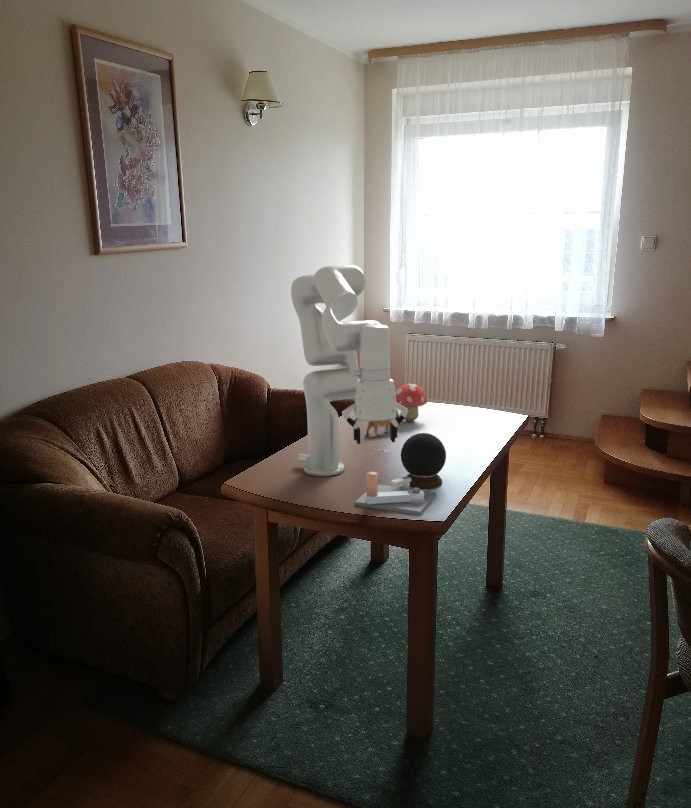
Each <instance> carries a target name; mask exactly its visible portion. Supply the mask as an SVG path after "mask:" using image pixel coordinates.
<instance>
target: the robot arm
mask: <svg viewBox="0 0 691 808" xmlns="http://www.w3.org/2000/svg"><path fill="white" fill-rule="evenodd" d="M366 284H367V283H366V277H365V273H364V271H363V270H362V269H361V268H360V267H359V266H357V265H352V264H349V265H327V266H322V267H321V268H319V269H317V271H315V273H314V274H308V275H302V276H299V277H297V278H295V279H294V280H293V281H292V283H291V288H290V295H291V296H290V297H291V302H292V306H293V308H294V311H295V313H296V315H297V318H298V321H299V326H300V333H301V340H302V348H303V356H304V358H305V359H304V360H305V361H306V363H307V365H309V366H313V367H321V366H324V367H325V366H333V365H338V366H339V368H331V369H321V370H314V371H311V372H309V373H306V375H305V376H304V378H303V382H302V388H303V393H304V397H305V405H306V418H307V419H306V420H307V446H308V448H307V449H308V450H307V452H308V453H307V454H305V453H299V454H298V455H297V457H298V460H297V461H298V463H304V464H305V465H304V466H303V471H304V472H305V474H307V475H309V476H314V477H331V476H332V477H333V476H336V475H338V474H341V473H343V472H344V470H345V465H344V464H343V463H342V462H340V437H339V436H340V429H339V423H340V422H339V414H338V412H337V410H336V409H335V408H334V406H333V405H332V404H331V402H335V401H342V400H350V399H354V403H352V404H350V406H348V407H346V408H345V409H344V410H342V411H341V414H342V416H343V417H344V419H345V420H346V422H347V423H348V424H349V426H351V427H352V428H353V440H354V441H356V443H357V445H360V444H361V428H360V425H361V424H362V423H363V422H369V421H383V420H390V421H391V422H392V423H391V425H390V426H389V439H390V441H391V443H396V439H397V438H398V427H399V425H400V424H401V423H402V422H403V421H404V418H405V416H406V415H407V413H408V411H409V410H408V409H407V408H406V407H404V406H402V405H401V404H399V403H397V402H396V394H395V392H396V387H395V381H394V379H392V378H391V329H390V327H389V326H388V325H385V324H382V323H380V322H379V321H377V320H373V319H371V320H370V319H367V320H350V321H343V320H344V319H346V318H348V317H349V316H351V315H352V314H353V313H354V312H355V311H356V309H357V308H358V304H359V302H358V301H359V300H358V297H359V296H360V295H362V293H364V291H365V288H366ZM317 304H324V305H325V308H324V309H323V310H324V311H323V310H322V309H321V308H320V307H319V306H318V305H317ZM358 351H359V361H358V354H357V352H358ZM396 409H397V410H398V411H400V414H398V417H397V418H396ZM352 412H354V414H355V418H354V419H353V418H352V417H351V416H350V414H351V413H352ZM395 418H396V419H395Z"/></svg>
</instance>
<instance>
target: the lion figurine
mask: <svg viewBox="0 0 691 808" xmlns="http://www.w3.org/2000/svg"><path fill="white" fill-rule="evenodd" d="M398 416H399V409H397V408H396V418H397V417H398ZM396 418H395V419H396ZM391 423H392V422H391V421H390V420H383V421H368V423H367V428H366V434H365V436H368V435H369V436H370V435H371V433H370V430H371V429H372V428H373V429H374V430H373V432H374V434H375V435H376V436H379V437H380V436H381V434H380V433H378V429H379V427H384V428H385V429H384V431H385V432H386V433H388V432H389V433H390V429H389V427H390V425H391Z"/></svg>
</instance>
